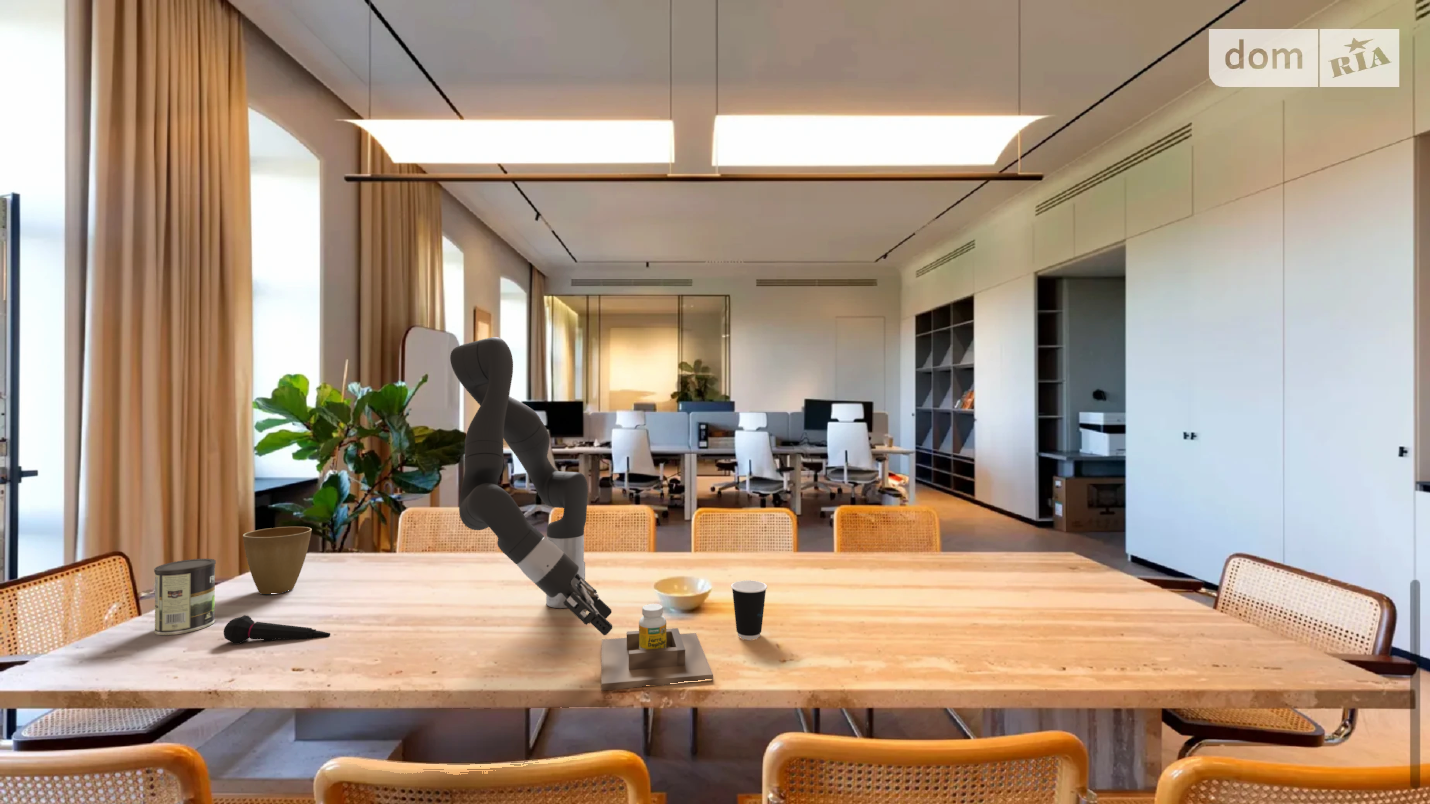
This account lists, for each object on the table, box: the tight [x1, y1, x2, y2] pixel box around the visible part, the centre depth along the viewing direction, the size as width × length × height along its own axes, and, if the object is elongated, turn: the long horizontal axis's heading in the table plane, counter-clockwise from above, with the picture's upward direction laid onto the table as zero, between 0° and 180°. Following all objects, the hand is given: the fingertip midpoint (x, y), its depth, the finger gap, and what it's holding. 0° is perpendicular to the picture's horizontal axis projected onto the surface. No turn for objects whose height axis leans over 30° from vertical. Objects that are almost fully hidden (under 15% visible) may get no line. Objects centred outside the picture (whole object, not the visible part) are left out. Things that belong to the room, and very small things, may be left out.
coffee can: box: [153, 558, 217, 636], centre depth 133 cm, size 10×10×14 cm
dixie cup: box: [730, 579, 768, 641], centre depth 129 cm, size 8×8×11 cm
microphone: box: [223, 614, 331, 645], centre depth 126 cm, size 6×6×20 cm
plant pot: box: [242, 526, 312, 595], centre depth 159 cm, size 15×15×16 cm
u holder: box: [600, 627, 714, 691], centre depth 115 cm, size 20×20×4 cm
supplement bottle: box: [638, 603, 667, 650], centre depth 115 cm, size 5×5×10 cm
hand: (608, 622), depth 114 cm, fingers open, 8 cm apart
